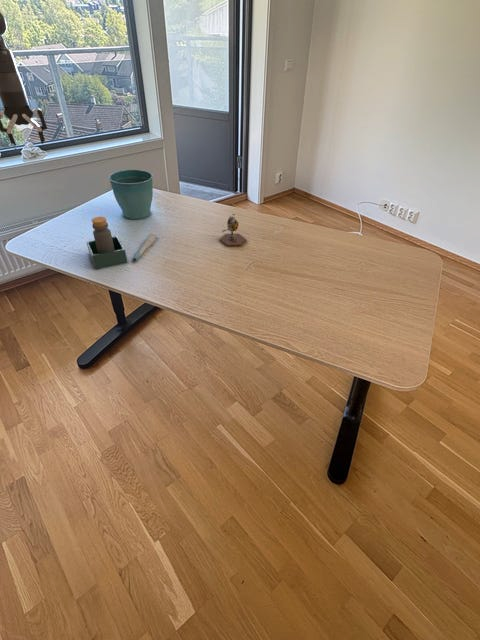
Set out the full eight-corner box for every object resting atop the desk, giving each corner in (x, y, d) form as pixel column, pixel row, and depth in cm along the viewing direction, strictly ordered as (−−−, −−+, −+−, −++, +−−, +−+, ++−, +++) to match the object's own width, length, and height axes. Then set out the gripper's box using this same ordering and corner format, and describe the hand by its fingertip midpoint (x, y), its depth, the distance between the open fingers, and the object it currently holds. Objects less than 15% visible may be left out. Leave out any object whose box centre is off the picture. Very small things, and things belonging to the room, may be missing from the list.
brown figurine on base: (229, 232, 148) (229, 205, 140) (248, 238, 145) (250, 210, 137) (216, 243, 140) (216, 215, 132) (237, 249, 138) (238, 221, 130)
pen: (149, 238, 141) (148, 232, 139) (157, 239, 141) (156, 233, 139) (129, 262, 127) (128, 256, 125) (138, 264, 126) (136, 257, 125)
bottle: (113, 262, 126) (104, 223, 116) (97, 261, 125) (87, 222, 116) (118, 253, 130) (109, 216, 120) (102, 253, 130) (93, 215, 120)
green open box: (95, 269, 122) (92, 256, 119) (89, 255, 130) (86, 241, 126) (127, 263, 127) (124, 249, 123) (120, 249, 134) (117, 235, 130)
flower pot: (116, 207, 162) (109, 169, 151) (155, 205, 166) (151, 168, 155) (115, 224, 149) (107, 184, 138) (158, 221, 153) (153, 182, 142)
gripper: (-16, 91, 105) (6, 148, 115) (36, 90, 110) (52, 145, 121) (-15, 87, 110) (5, 142, 120) (34, 86, 115) (50, 139, 126)
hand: (29, 144), depth 121 cm, fingers open, 8 cm apart
